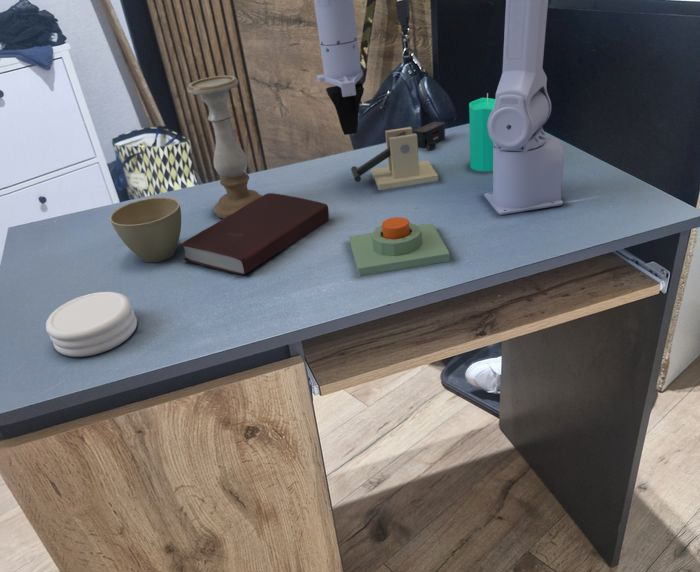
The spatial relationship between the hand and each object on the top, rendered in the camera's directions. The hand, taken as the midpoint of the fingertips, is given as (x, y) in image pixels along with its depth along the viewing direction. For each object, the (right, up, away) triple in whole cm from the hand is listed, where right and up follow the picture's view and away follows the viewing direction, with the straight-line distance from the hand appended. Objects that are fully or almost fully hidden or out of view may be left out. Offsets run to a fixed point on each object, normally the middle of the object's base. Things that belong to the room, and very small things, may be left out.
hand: (350, 132), depth 103 cm
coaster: (-31, -33, -25) cm, 52 cm away
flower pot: (-29, -21, -7) cm, 36 cm away
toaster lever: (+6, -4, +4) cm, 8 cm away
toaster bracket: (+9, -6, +6) cm, 12 cm away
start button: (+6, -20, -18) cm, 27 cm away
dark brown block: (+15, +4, +19) cm, 24 cm away
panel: (+7, -22, -16) cm, 28 cm away
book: (-13, -19, -8) cm, 25 cm away
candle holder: (-18, -12, +4) cm, 22 cm away
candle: (+24, -4, +6) cm, 25 cm away
